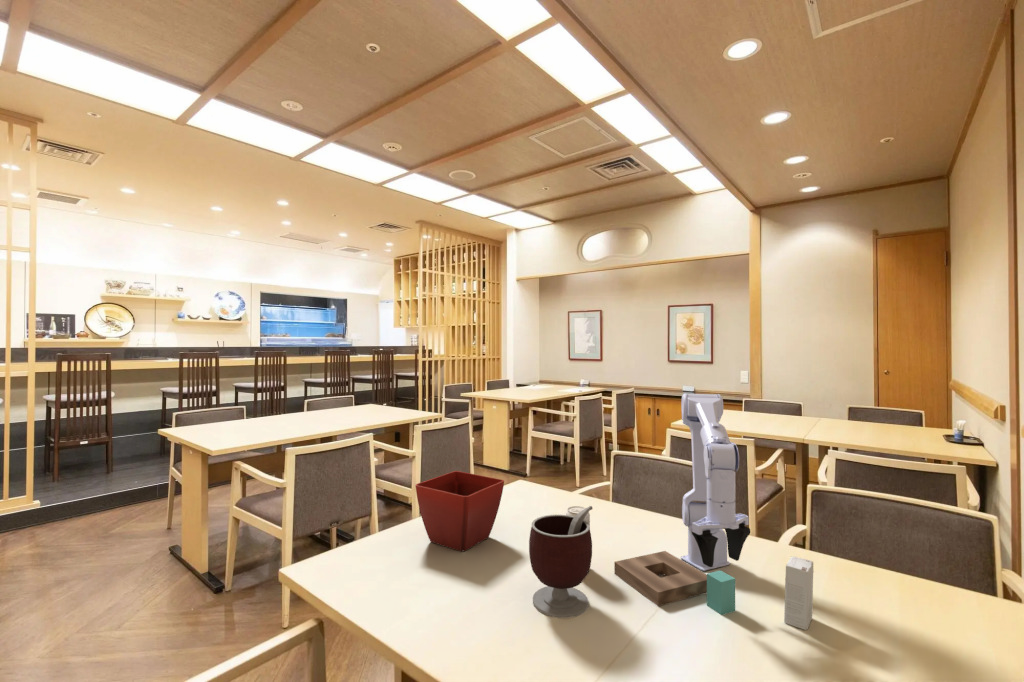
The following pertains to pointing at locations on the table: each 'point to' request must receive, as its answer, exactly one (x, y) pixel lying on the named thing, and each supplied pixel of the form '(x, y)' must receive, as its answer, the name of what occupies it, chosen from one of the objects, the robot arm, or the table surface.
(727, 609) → the teal peg
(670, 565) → the holder block
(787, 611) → the skincare box
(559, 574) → the mate gourd
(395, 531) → the table surface
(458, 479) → the plant pot
